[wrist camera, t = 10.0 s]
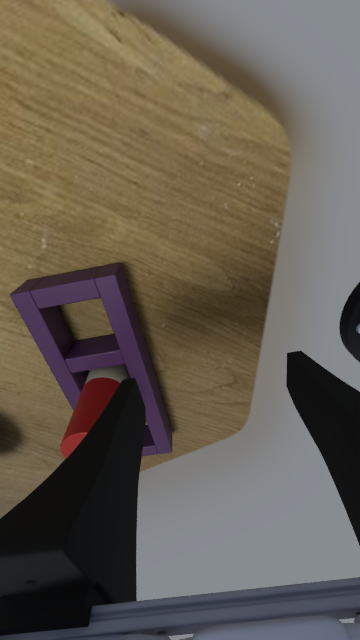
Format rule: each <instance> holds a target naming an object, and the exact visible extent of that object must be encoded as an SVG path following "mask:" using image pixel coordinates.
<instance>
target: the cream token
mask: <svg viewBox="0 0 360 640" xmlns="http://www.w3.org/2000/svg"><path fill="white" fill-rule="evenodd" d="M100 377H105V378H111V379H114V380H116V381H118V382H120V383H121V381H122V380H124V379H130V378H131V377H130V375H129V372H128V369H127V367H126V364H123V365H117V366H110V367H104V368H98V369H92V370H90V372H89V375H88V377H87V380H86V382H85V384H86V383H87V382H88V381H90V380H92V379H94V378H100Z"/></svg>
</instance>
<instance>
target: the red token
mask: <svg viewBox="0 0 360 640" xmlns="http://www.w3.org/2000/svg"><path fill="white" fill-rule="evenodd" d="M119 385H120V382H118V381H116V380H114V379H111V378H105V377H100V378H94V379H92V380H90V381H88V382H87V383H86V384H85V385H84V387H83V389H82V391H81V394H80V396H79V399H78V401H77V404H76V407H75V409H74V412H73V414H72V417H71V419H70V422H69V425H68V427H67V430H66V432H65V435H64V437H63V440H62V443H61V452H62V454H63V456H64V457H65V458H67V457H68V456H69V455H70V454H71V453H72V452H73V450H74V449H75V448H76V447H77V446H78V445H79V443H80V442H81V441H82V440H83V438H84V437H85V436H86V434H87V433H88V432H89V430H90V429H91V428H92V426H93V425H94V423H95V422H96V421H97V419H98V418H99V416H100V415H101V413H102V412H103V410H104V409H105V407H106V406H107V404H108V403H109V401H110V399H111V398H112V396H113V395H114V393H115V391H116V390H117V388H118V386H119Z"/></svg>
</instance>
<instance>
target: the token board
mask: <svg viewBox="0 0 360 640" xmlns="http://www.w3.org/2000/svg"><path fill="white" fill-rule="evenodd" d="M10 297H11V299H12V300H13V302H14V304H15V306H16V308H17V309H18V311H19V313H20V315H21V317H22V318H23V320H24V322H25V324H26V326H27V327H28V329H29V331H30V333H31V335H32V336H33V338H34V340H35V342H36V344H37V345H38V347H39V349H40V351H41V353H42V354H43V356H44V358H45V360H46V362H47V363H48V365H49V367H50V369H51V371H52V372H53V374H54V376H55V378H56V380H57V381H58V383H59V385H60V387H61V389H62V391H63V392H64V394H65V396H66V398H67V400H68V401H69V403H70V405H71V407H72V409H73V410H74V409H75V407H76V404H77V401H78V399H79V396H80V394H81V391H82V389H83V387H84V385H85V382H86V380H87V377H88V375H89V373H88V371H87V370H92V369H98V368H104V367H110V366H117V365H123V364H126V367H127V369H128V372H129V375H130V377H131V378H135V379H136V382H137V384H138V387H139V390H140V393H141V396H142V398H143V401H144V404H145V407H146V421H147V424H148V426H145V435H144V442H143V450H142V456H147V455H154V454H162V453H169V452H172V429H171V425H170V422H169V419H168V416H167V412H166V409H165V406H164V402H163V399H162V396H161V392H160V389H159V386H158V383H157V379H156V376H155V373H154V369H153V366H152V363H151V360H150V356H149V353H148V350H147V346H146V343H145V340H144V336H143V333H142V330H141V327H140V323H139V320H138V317H137V313H136V310H135V307H134V304H133V300H132V297H131V294H130V290H129V287H128V284H127V280H126V277H125V274H124V271H123V267H122V264H121V263H116V264H111V265H105V266H100V267H95V268H90V269H85V270H80V271H74V272H69V273H64V274H59V275H53V276H48V277H44V278H38V279H32V280H27V281H26V282H24V283H23V284H22V285H21V286H20V287H18V288H17V289H16V290H15V291H13V292H12V293H11V294H10ZM100 297H101V298H102V301H103V304H104V307H105V309H106V312H107V315H108V317H109V320H110V323H111V326H112V328H113V331H114V335H109V336H103V337H97V338H91V339H86V340H80V341H75V342H74V341H73V338H72V336H71V334H70V332H69V330H68V328H67V326H66V323H65V321H64V319H63V317H62V315H61V313H60V311H59V308H58V305H63V304H69V303H74V302H79V301H85V300H90V299H96V298H100Z"/></svg>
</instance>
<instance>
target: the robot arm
mask: <svg viewBox="0 0 360 640" xmlns="http://www.w3.org/2000/svg"><path fill="white" fill-rule="evenodd" d="M356 331H357V332H358V333H359V334H360V323H359V324H358V325H357V326H356ZM287 388H288V391H289V393H290V396H291V398H292V400H293V403H294V405H295V407H296V409H297V411H298V413H299V414H300V416H301V418H302V420H303V422H304V424H305V425H306V427H307V429H308V431H309V432H310V434H311V436H312V438H313V440H314V441H315V443H316V445H317V446H318V448H319V450H320V452H321V454H322V456H323V458H324V460H325V463H326V465H327V467H328V469H329V472H330V474H331V476H332V478H333V481H334V483H335V485H336V487H337V490H338V492H339V495H340V497H341V500H342V502H343V504H344V507H345V509H346V511H347V514H348V517H349V519H350V522H351V524H352V526H353V529H354V532H355V534H356V537H357V540H358V542H359V545H360V392H359V391H358V390H356V389H354V388H353V387H351V386H349V385H348V384H346V383H345V382H343V381H342V380H340V379H339V378H337V377H336V376H335V375H333V374H332V373H330V372H329V371H327V370H326V369H325V368H323V367H322V366H321V365H319V364H318V363H316V362H315V361H314V360H312V359H311V358H310V357H308V356H307V355H306V354H304V353H303V352H302V351H297V352H291V353H287ZM145 423H146V407H145V404H144V401H143V398H142V396H141V393H140V390H139V387H138V384H137V382H136V379H135V378H130V379H124V380H122V381H121V383H120V385H119V386H118V388H117V390H116V391H115V393H114V395H113V396H112V398H111V399H110V401H109V403H108V404H107V406H106V407H105V409H104V410H103V412H102V413H101V415H100V416H99V418H98V419H97V421H96V422H95V423H94V425H93V426H92V428H91V429H90V430H89V432H88V433H87V434H86V436H85V437H84V438H83V440H82V441H81V442H80V443H79V445H78V446H77V447H76V448H75V449H74V450H73V452H72V453H71V454H70V455H69V456H68V457H67V458H66V459H65V460H64V461H63V462H62V464H61V465H60V466H59V467H58V468H57V469H56V470H55V471H54V472H53V473H52V474H51V475H50V476H49V477H48V478H47V479H46V480H45V481H44V482H43V483H42V484H41V485H39V486H38V487H37V488H36V489H35V490H34V491H33V492H32V493H31V494H29V495H28V496H27V497H26V498H25V499H24V500H23V501H21V502H20V503H19V504H18V505H17V506H15V507H14V508H13V509H12V510H10V511H9V512H8V513H7V514H6V515H4V516H3V517H2V518H1V519H0V640H170V638H169V637H168V636H173V635H183V634H193V633H194V635H193V637H191V638H186V639H181V640H360V577H359V578H351V579H341V580H331V581H322V582H314V583H303V584H294V585H285V586H275V587H266V588H257V589H247V590H238V591H228V592H219V593H210V594H200V595H191V596H181V597H172V598H163V599H153V600H144V601H136V528H137V497H138V480H139V471H140V464H141V457H142V450H143V442H144V435H145ZM348 618H355V620H354V622H355V623H342V622H341V621H339V620H338V619H348Z"/></svg>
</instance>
